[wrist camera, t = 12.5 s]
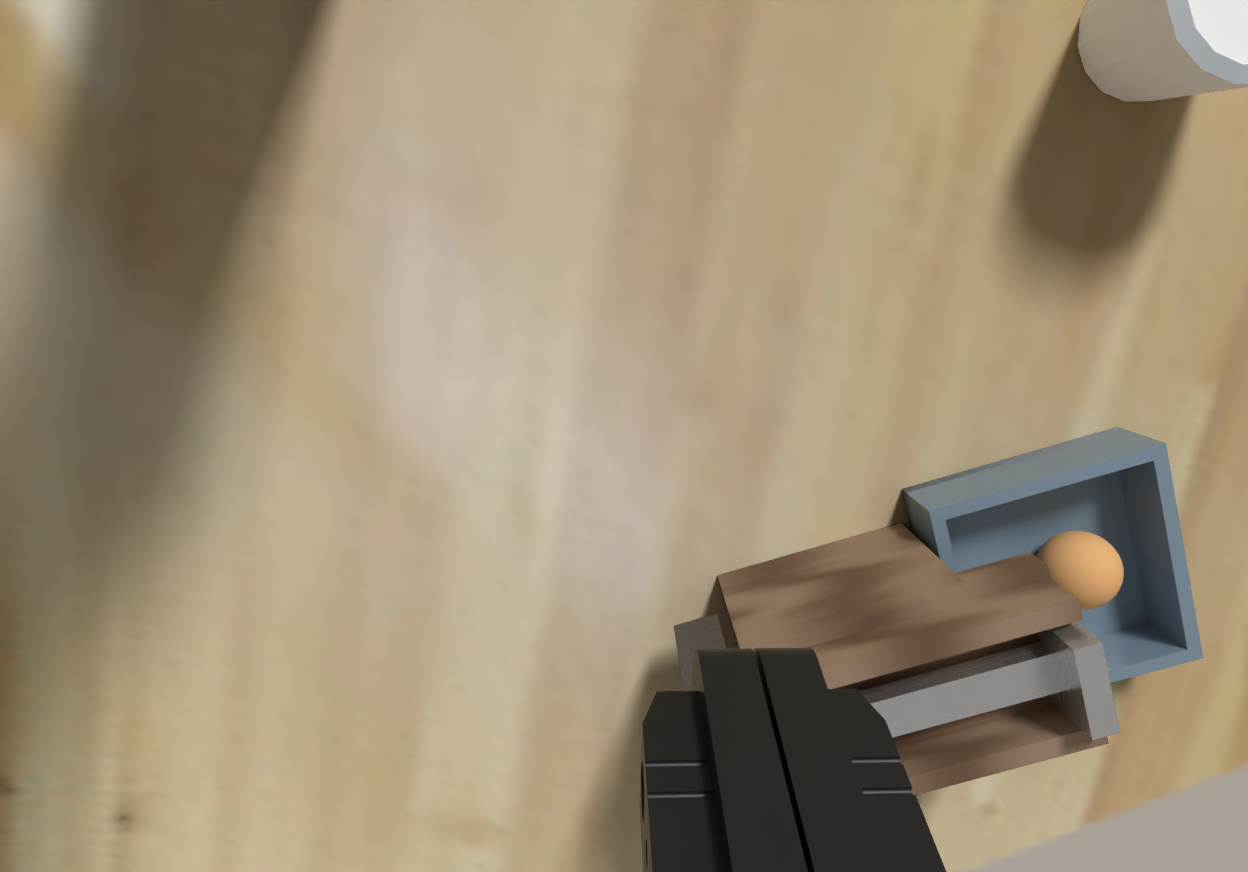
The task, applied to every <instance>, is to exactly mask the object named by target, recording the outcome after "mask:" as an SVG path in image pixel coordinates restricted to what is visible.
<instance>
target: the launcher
mask: <svg viewBox="0 0 1248 872" xmlns="http://www.w3.org/2000/svg"><path fill="white" fill-rule="evenodd" d="M717 576H718V579H719V583H720V586H721V589H722V593H723V596H724V599H725V603H726V606H727V610H728V613H729V616H730V620H731V623H732V627H733V630H734V633H735V637H736V640H737V643H738V647H739V649H741V648H751V649H752V650H754V649H755V648H807V647H810V648H812V649H813V650H814V651H815V653H816V656H817V658H818V661H819V664H820V667H821V670H822V673H823V676H824V679H825V682H826V685H827V688H828V689H857V690H858V691H862V690H866V689H869V688H873V687H876V686H880V685H884V684H887V683H891V682H895V681H898V680H902V679H906V678H909V677H913V676H916V675H920V674H924V673H927V672H931V671H935V670H938V669H942V668H945V667H949V666H953V665H956V664H960V663H964V662H967V661H971V660H975V659H978V658H982V657H985V656H989V655H993V654H996V653H1000V652H1004V651H1007V650H1011V649H1014V648H1018V647H1022V646H1025V645H1029V644H1033V643H1036V642H1040V639H1039V635H1038V632H1041V631H1044V630H1048V629H1052V628H1055V627H1059V626H1063V625H1066V624H1070V623H1073V622H1077V621H1081V620H1083V615H1082V610H1081V605H1080V600H1079V599H1078V598H1076V597H1075V596H1074V595H1072V594H1071V593H1070V592H1068V591H1067V590H1066V589H1064V588H1063V587H1062V586H1060V585H1059V584H1058V583H1056V582H1055V581H1053V580H1052V579H1051V576H1050V571H1049V566H1048V565H1047V564H1045V563H1044V562H1043V561H1041V560H1040V559H1038V558H1037V557H1036V556H1034V555H1033V554H1031V553H1030V552H1028V553H1024V554H1021V555H1017V556H1014V557H1010V558H1007V559H1003V560H999V561H996V562H992V563H989V564H985V565H982V566H978V567H975V568H971V569H967V570H964V571H960V572H957V573H954V572H953V571H952V570H951V569H950V568H949V567H948V566H947V565H946V564H945V563H944V562H943V561H942V560H940V559H939V558H938V557H937V556H936V555H935V554H934V553H933V552H932V551H931V550H930V549H929V548H928V547H927V546H925V545H924V544H923V543H922V542H921V541H920V540H919V539H918V538H917V537H916V536H915V535H914V534H913V533H912V532H910V531H909V530H908V529H907V528H906V527H905V526H904V525H903V524H902V523H899V524H896V525H892V526H889V527H885V528H882V529H878V530H875V531H871V532H868V533H864V534H861V535H857V536H854V537H850V538H847V539H843V540H840V541H836V542H833V543H829V544H826V545H822V546H819V547H815V548H812V549H808V550H805V551H801V552H798V553H794V554H791V555H787V556H784V557H780V558H777V559H773V560H770V561H766V562H763V563H759V564H756V565H752V566H749V567H745V568H742V569H738V570H735V571H731V572H728V573H724V574H721V575H717ZM893 740H894V743H895V745H896V748H897V750H898V753H899V755H900V763H901V764H903V765H904V768H905V770H906V773H907V775H908V778H909V780H910V783H911V785H912V793H913V795H918V794H921V793H925V792H929V791H933V790H936V789H940V788H944V787H947V786H951V785H955V784H959V783H962V782H966V781H970V780H974V779H977V778H981V777H985V776H989V775H992V774H996V773H1000V772H1004V771H1007V770H1011V769H1015V768H1018V767H1022V766H1026V765H1030V764H1033V763H1037V762H1041V761H1045V760H1048V759H1052V758H1056V757H1060V756H1063V755H1067V754H1071V753H1075V752H1078V751H1082V750H1086V749H1089V748H1093V747H1097V746H1101V745H1104V744H1108V738H1107V736H1106V737H1103V738H1099V739H1095V740H1092V739H1091V738H1090V737H1089V736H1088V735H1087V734H1086V733H1085V732H1084V731H1083V730H1082V729H1081V728H1080V727H1079V726H1078V725H1077V724H1076V723H1075V722H1074V721H1073V720H1072V719H1071V718H1070V717H1069V716H1068V715H1067V714H1066V713H1065V712H1064V711H1063V710H1062V709H1061V708H1060V707H1059V706H1058V705H1057V704H1056V703H1055V702H1054V701H1053V700H1052V695H1047V696H1044V697H1040V698H1036V699H1033V700H1029V701H1025V702H1022V703H1018V704H1014V705H1011V706H1007V707H1003V708H1000V709H996V710H992V711H988V712H985V713H981V714H977V715H974V716H970V717H966V718H963V719H959V720H955V721H952V722H948V723H944V724H941V725H937V726H933V727H930V728H926V729H922V730H919V731H915V732H911V733H908V734H904V735H900V736H897V737H893Z"/></svg>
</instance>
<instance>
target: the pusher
mask: <svg viewBox="0 0 1248 872" xmlns="http://www.w3.org/2000/svg"><path fill="white" fill-rule="evenodd" d="M674 631H675V637H676V644H677V651H678V657H679V664H680V671H681V678H682V684H683V691H691V683H692V669H693V657H694V651H695V649H727V645H726V642H725V638H724V635H723V632H722V628H721V625H720V622H719V618H718V615H717V614H714V615H710V616H707V617H703V618H700V619H696V620H693V621H689V622H686V623H682V624H678V625H675V626H674ZM1038 635H1039V639H1040V642H1036V643H1033V644H1029V645H1025V646H1022V647H1018V648H1014V649H1011V650H1007V651H1004V652H1000V653H996V654H993V655H989V656H985V657H982V658H978V659H975V660H971V661H967V662H964V663H960V664H956V665H953V666H949V667H945V668H942V669H938V670H935V671H931V672H927V673H924V674H920V675H916V676H913V677H909V678H906V679H902V680H898V681H895V682H891V683H887V684H884V685H880V686H876V687H873V688H869V689H866V690H862V691H859V692H860V693H861V694H862V695H863V696H864V698H865V699H866V700H867V701H868V702H869V703H870V704H871V705H872V706H873V707H874V708H875V709H876V710H877V712H878V713H879V714H880V715H881V716H882V717H883V718H884V719H885V720H886V723H887V725H888V728H889V730H890V733H891V735H892V738H893V737H897V736H900V735H904V734H908V733H911V732H915V731H919V730H922V729H926V728H930V727H933V726H937V725H941V724H944V723H948V722H952V721H955V720H959V719H963V718H966V717H970V716H974V715H977V714H981V713H985V712H988V711H992V710H996V709H1000V708H1003V707H1007V706H1011V705H1014V704H1018V703H1022V702H1025V701H1029V700H1033V699H1036V698H1040V697H1044V696H1047V695H1052V700H1053V701H1054V702H1055V703H1056V704H1057V705H1058V706H1059V707H1060V708H1061V709H1062V710H1063V711H1064V712H1065V713H1066V714H1067V715H1068V716H1069V717H1070V718H1071V719H1072V720H1073V721H1074V722H1075V723H1076V724H1077V725H1078V726H1079V727H1080V728H1081V729H1082V730H1083V731H1084V732H1085V733H1086V734H1087V735H1088V736H1089V737H1090V738H1091V739H1092V740H1095V739H1099V738H1103V737H1106V736H1110V735H1114V734H1117V733H1120V729H1119V724H1118V719H1117V714H1116V709H1115V704H1114V699H1113V694H1112V689H1111V684H1110V679H1109V674H1108V669H1107V664H1106V659H1105V654H1104V649H1103V644H1102V642H1101V641H1100V640H1099V639H1097V638H1096V637H1095V636H1094V635H1092V634H1091V633H1090V632H1089V631H1087V630H1086V629H1085V628H1084V627H1082V626H1081V625H1080V624H1079V623H1077V622H1073V623H1070V624H1066V625H1063V626H1059V627H1055V628H1052V629H1048V630H1044V631H1041V632H1038Z"/></svg>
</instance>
